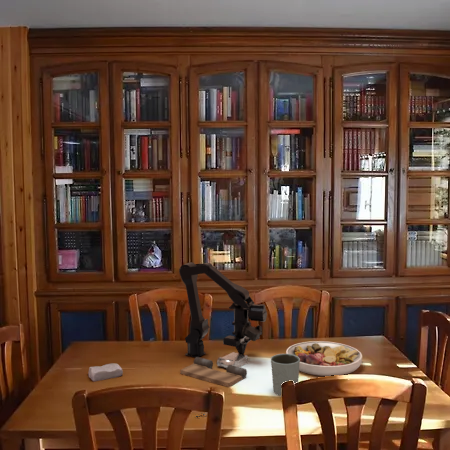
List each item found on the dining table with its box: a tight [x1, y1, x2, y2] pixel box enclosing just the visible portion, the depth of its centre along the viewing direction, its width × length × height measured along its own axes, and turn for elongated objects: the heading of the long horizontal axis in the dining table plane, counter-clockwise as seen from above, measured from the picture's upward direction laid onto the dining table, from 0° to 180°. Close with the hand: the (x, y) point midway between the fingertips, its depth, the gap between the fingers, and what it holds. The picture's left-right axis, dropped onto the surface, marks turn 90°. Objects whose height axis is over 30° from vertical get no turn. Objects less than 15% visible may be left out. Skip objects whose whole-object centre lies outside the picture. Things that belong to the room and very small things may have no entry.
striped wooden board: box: [179, 357, 248, 388], centre depth 194 cm, size 23×12×4 cm, turn 55°
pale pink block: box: [216, 351, 249, 369], centre depth 204 cm, size 7×11×4 cm, turn 143°
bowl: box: [285, 340, 363, 377], centre depth 204 cm, size 30×30×8 cm
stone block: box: [88, 362, 124, 382], centre depth 196 cm, size 12×5×10 cm
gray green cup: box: [270, 353, 300, 396], centre depth 178 cm, size 10×10×12 cm
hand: (241, 356), depth 210 cm, fingers closed
